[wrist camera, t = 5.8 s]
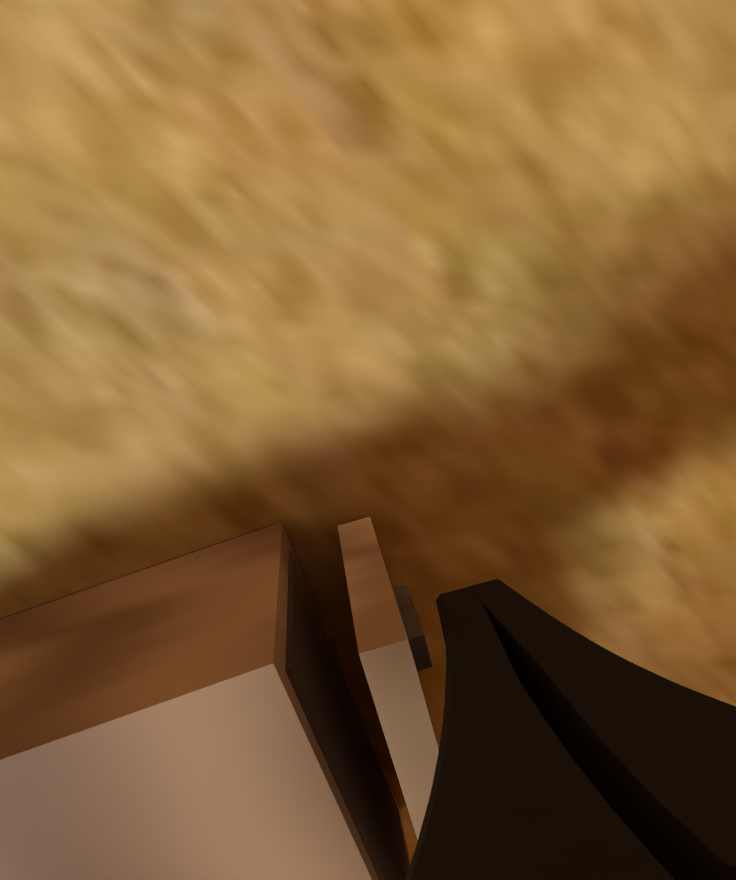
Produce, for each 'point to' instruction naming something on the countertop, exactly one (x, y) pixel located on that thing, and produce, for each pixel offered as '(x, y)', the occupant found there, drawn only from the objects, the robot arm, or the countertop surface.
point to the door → (391, 663)
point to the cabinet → (189, 731)
